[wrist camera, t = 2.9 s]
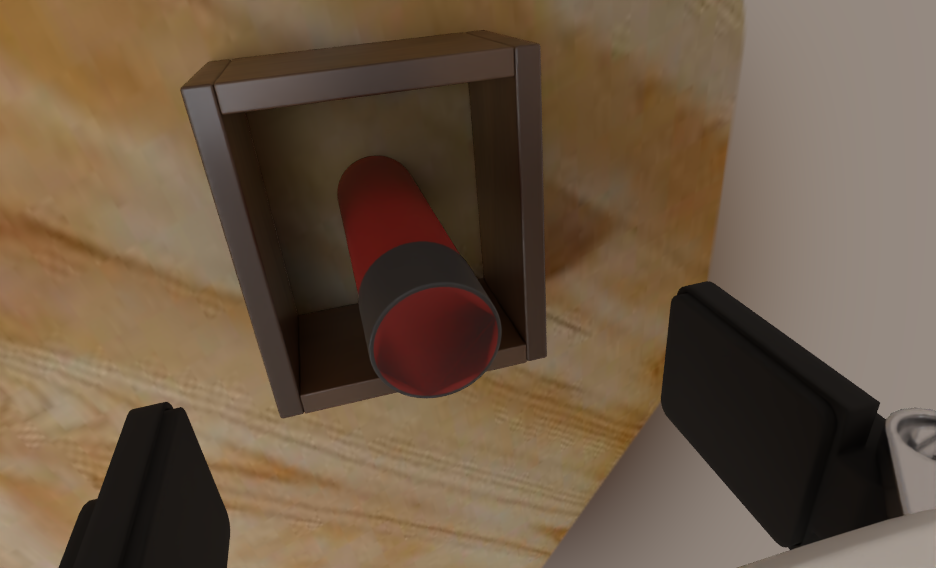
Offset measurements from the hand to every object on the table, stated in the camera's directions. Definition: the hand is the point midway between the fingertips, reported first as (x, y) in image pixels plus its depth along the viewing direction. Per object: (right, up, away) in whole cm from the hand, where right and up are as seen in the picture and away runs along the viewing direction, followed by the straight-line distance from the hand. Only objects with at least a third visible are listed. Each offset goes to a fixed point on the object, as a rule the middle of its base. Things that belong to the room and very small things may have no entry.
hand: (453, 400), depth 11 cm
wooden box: (-3, +6, +12) cm, 13 cm away
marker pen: (-3, +6, +12) cm, 13 cm away
